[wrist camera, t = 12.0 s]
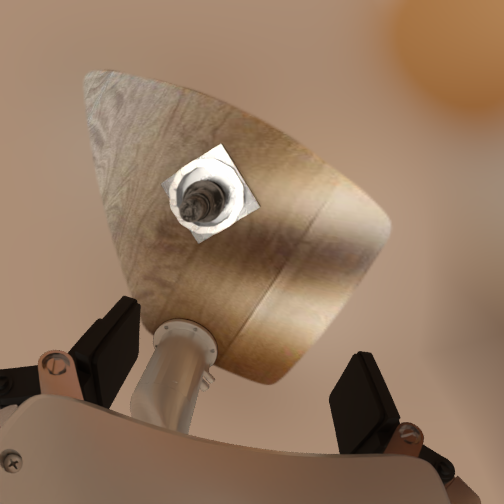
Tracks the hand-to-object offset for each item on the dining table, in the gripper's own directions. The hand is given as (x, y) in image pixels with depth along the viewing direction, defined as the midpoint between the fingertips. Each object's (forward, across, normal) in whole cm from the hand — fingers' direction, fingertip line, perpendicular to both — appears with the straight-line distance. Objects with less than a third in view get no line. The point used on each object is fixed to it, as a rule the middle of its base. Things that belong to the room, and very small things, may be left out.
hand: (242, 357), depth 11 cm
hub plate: (+33, +8, -1) cm, 34 cm away
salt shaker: (+32, +8, 0) cm, 33 cm away
